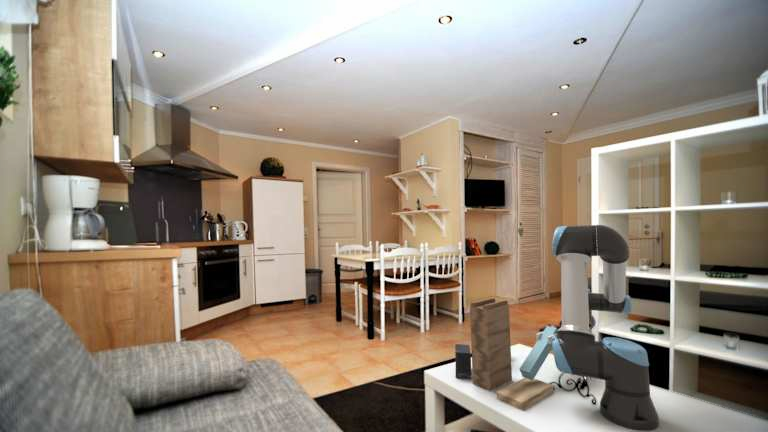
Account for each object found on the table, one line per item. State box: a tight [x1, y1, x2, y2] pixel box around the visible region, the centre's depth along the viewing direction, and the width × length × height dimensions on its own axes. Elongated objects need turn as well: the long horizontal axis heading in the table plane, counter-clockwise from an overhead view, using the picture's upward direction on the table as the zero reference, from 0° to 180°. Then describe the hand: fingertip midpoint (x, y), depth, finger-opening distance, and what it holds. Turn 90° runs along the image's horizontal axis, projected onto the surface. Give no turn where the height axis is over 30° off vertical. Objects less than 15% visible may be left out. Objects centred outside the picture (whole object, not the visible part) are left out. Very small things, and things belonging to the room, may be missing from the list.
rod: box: [519, 325, 557, 380], centre depth 134 cm, size 4×24×4 cm, turn 126°
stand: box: [469, 297, 513, 392], centre depth 136 cm, size 8×14×32 cm, turn 126°
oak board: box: [495, 377, 554, 411], centre depth 124 cm, size 10×20×2 cm, turn 127°
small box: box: [454, 343, 472, 379], centre depth 144 cm, size 11×6×10 cm, turn 168°
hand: (542, 339), depth 135 cm, fingers closed on rod, 4 cm apart
